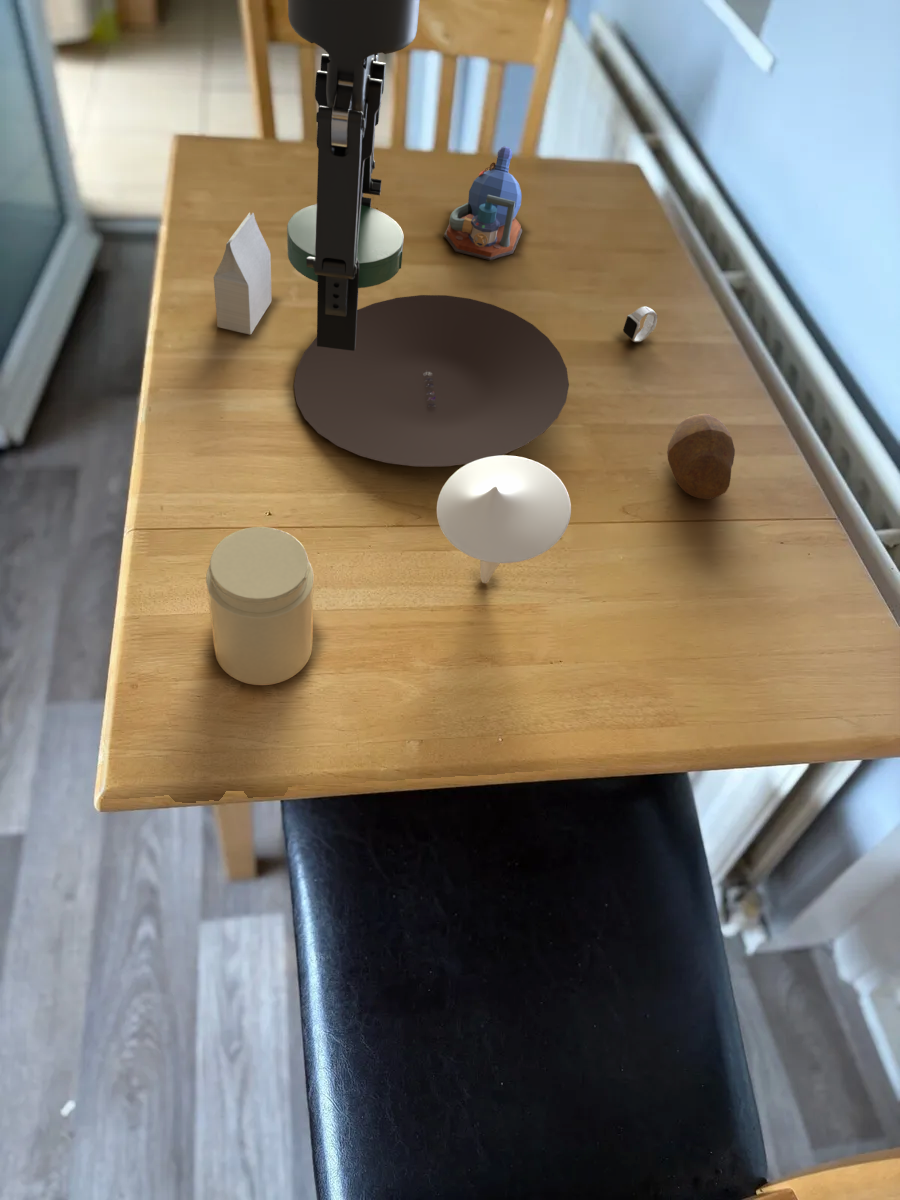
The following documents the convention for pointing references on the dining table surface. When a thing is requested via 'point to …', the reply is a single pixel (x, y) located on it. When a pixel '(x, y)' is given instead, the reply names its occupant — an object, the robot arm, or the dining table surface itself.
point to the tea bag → (243, 279)
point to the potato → (701, 456)
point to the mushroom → (503, 510)
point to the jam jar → (261, 605)
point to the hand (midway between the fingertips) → (342, 310)
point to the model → (488, 213)
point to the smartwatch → (634, 324)
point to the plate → (433, 383)
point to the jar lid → (375, 245)
